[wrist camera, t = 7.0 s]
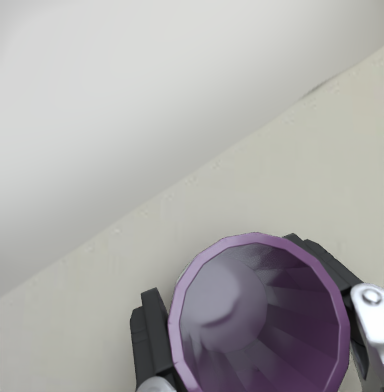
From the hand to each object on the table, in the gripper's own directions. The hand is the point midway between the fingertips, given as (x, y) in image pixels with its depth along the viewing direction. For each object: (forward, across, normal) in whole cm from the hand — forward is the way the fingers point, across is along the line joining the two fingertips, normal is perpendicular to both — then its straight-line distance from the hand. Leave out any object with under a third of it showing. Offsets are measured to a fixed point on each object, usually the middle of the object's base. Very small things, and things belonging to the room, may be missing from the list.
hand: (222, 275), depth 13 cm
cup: (+2, 0, +4) cm, 5 cm away
